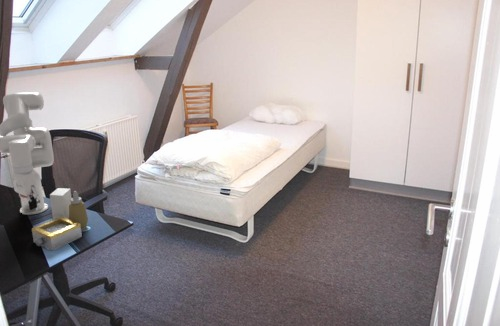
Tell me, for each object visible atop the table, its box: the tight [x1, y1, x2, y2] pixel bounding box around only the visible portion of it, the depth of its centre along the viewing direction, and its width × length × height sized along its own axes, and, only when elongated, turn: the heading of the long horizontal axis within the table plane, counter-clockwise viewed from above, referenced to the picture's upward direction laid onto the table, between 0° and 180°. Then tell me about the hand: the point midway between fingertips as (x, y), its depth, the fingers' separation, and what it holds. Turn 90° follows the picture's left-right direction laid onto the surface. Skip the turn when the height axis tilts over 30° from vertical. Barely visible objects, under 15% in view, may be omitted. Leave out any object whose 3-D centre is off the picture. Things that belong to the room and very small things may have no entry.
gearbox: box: [31, 216, 83, 251], centre depth 169 cm, size 13×16×6 cm
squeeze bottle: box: [69, 190, 89, 231], centre depth 178 cm, size 8×8×18 cm
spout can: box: [19, 192, 40, 213], centre depth 173 cm, size 6×8×8 cm
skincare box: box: [49, 187, 72, 220], centre depth 184 cm, size 8×7×16 cm
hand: (29, 206), depth 173 cm, fingers closed on spout can, 5 cm apart
